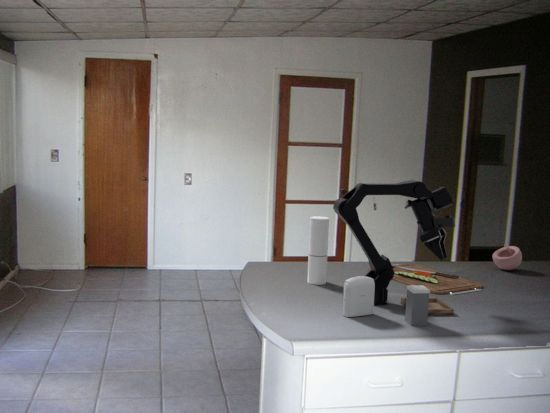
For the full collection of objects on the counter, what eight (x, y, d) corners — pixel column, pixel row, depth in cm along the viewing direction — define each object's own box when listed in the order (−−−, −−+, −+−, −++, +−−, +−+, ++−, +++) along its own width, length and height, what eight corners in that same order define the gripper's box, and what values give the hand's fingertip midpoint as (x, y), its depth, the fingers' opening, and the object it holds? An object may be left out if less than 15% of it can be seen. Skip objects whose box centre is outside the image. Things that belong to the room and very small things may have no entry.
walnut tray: (415, 315, 177) (415, 309, 177) (400, 303, 190) (400, 297, 190) (453, 314, 179) (453, 309, 179) (436, 302, 192) (436, 297, 191)
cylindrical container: (326, 280, 216) (329, 216, 213) (325, 285, 209) (329, 219, 206) (307, 279, 217) (310, 215, 214) (306, 284, 210) (309, 218, 207)
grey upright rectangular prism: (410, 325, 167) (413, 290, 166) (404, 320, 172) (406, 285, 171) (427, 325, 168) (429, 290, 166) (420, 319, 173) (423, 285, 171)
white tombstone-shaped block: (347, 318, 171) (349, 279, 170) (340, 314, 175) (342, 276, 174) (375, 315, 176) (377, 277, 174) (367, 311, 180) (370, 273, 178)
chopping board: (361, 270, 238) (361, 263, 237) (407, 265, 251) (408, 258, 251) (440, 298, 199) (441, 289, 199) (490, 290, 213) (491, 282, 212)
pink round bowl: (485, 267, 250) (487, 242, 249) (507, 266, 254) (509, 241, 252) (504, 273, 239) (506, 247, 237) (526, 272, 242) (529, 246, 241)
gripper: (443, 205, 176) (464, 250, 173) (450, 206, 193) (469, 248, 190) (411, 219, 180) (431, 264, 177) (420, 219, 197) (438, 260, 194)
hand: (444, 258), depth 184 cm, fingers open, 9 cm apart
